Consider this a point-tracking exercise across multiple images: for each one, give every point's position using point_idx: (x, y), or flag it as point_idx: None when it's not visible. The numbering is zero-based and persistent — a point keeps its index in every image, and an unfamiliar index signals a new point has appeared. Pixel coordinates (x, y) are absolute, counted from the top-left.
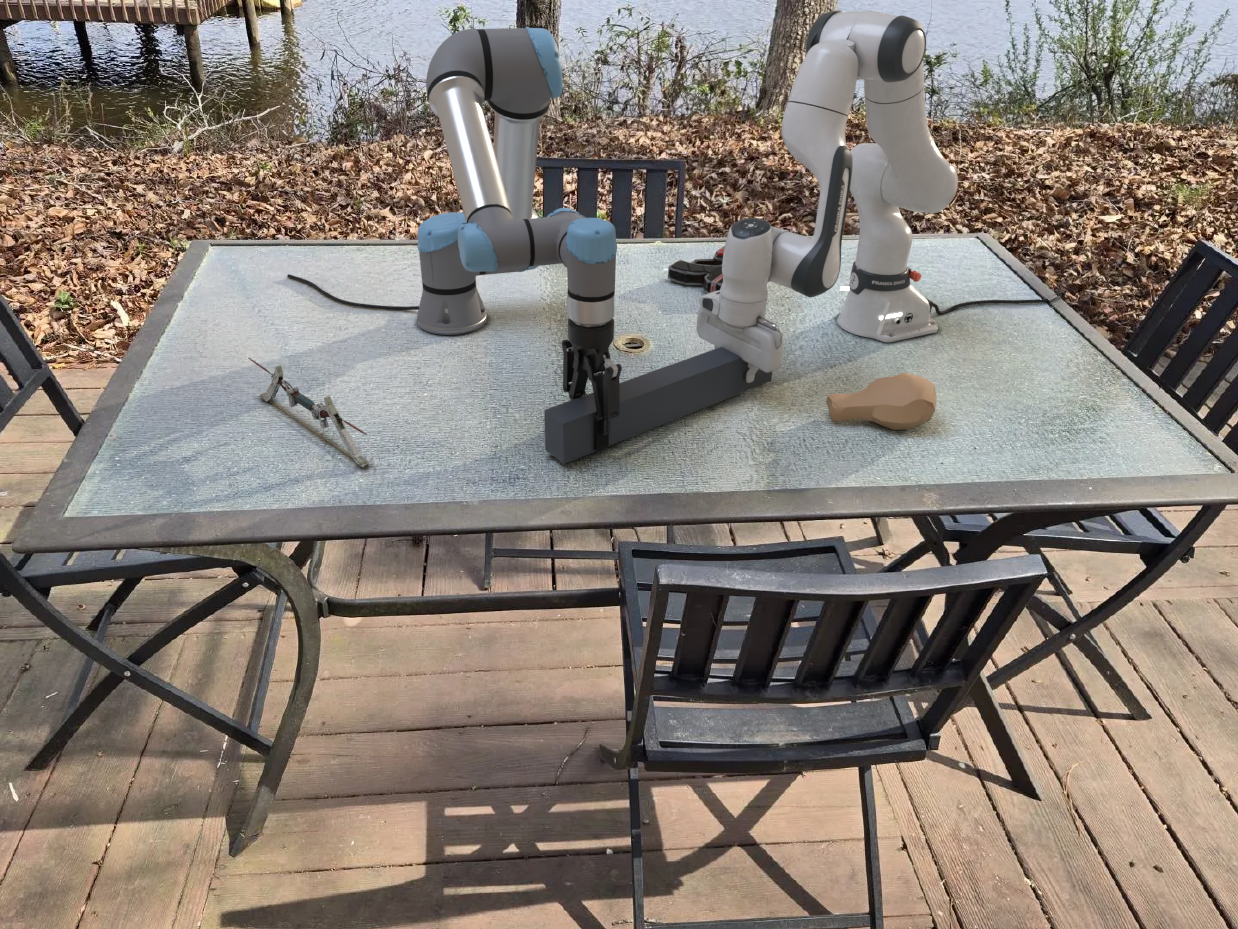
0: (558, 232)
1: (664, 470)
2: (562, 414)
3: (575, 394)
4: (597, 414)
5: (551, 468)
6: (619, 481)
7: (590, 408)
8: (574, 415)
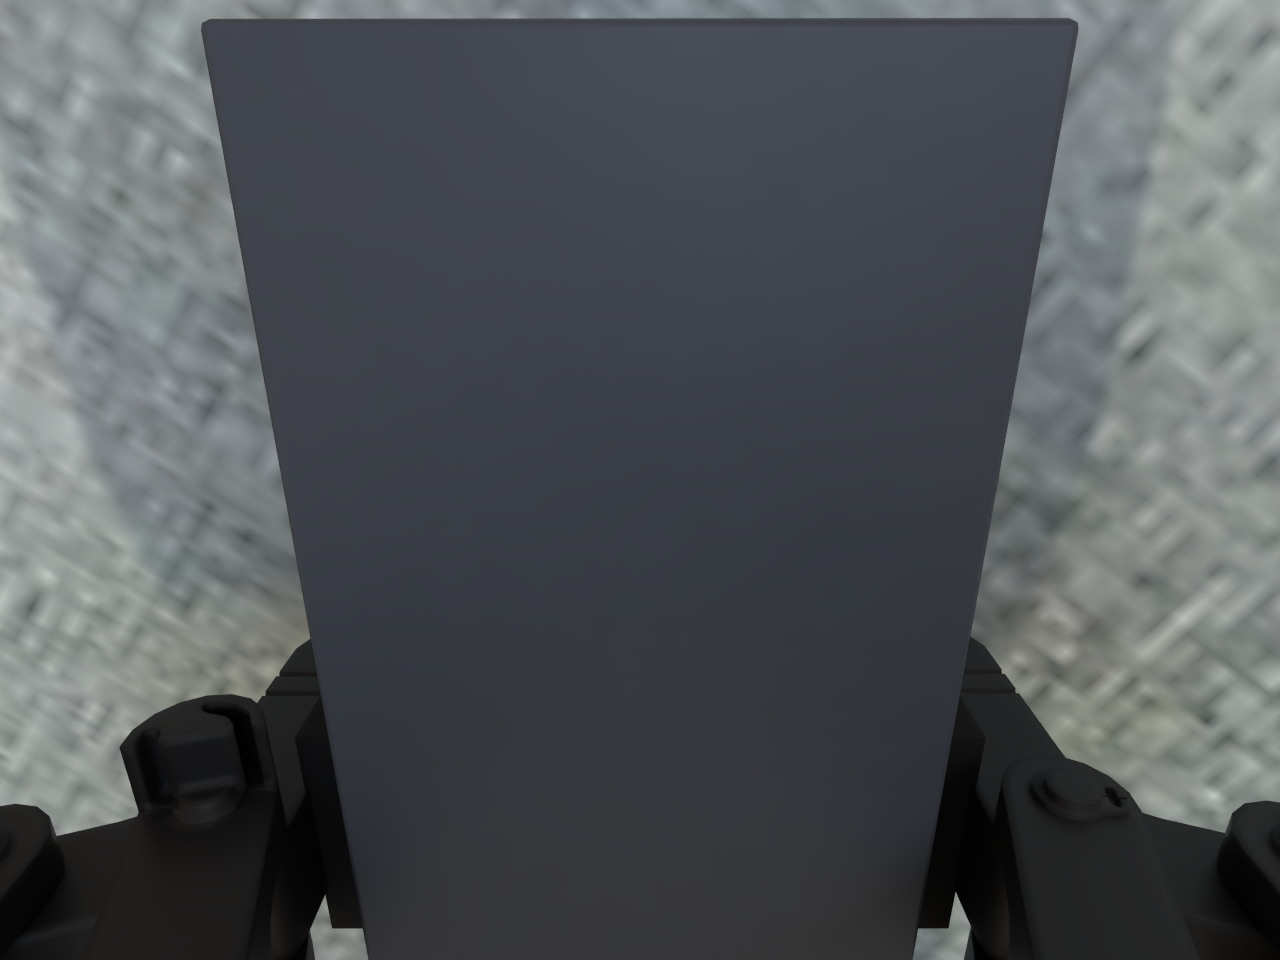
0: None
1: (81, 757)
2: (599, 278)
3: (1008, 889)
4: (262, 805)
5: (563, 13)
6: (71, 421)
7: (489, 824)
8: (413, 468)
